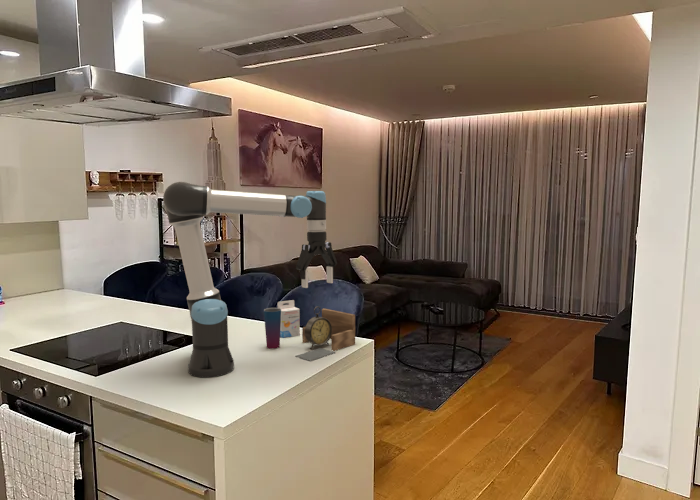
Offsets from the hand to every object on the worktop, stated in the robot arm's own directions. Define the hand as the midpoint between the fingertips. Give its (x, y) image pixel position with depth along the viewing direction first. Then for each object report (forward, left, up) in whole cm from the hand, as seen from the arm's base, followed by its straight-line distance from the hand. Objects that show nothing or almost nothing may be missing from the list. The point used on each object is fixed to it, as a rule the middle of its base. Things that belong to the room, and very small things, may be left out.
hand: (317, 285), depth 192 cm
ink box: (+3, +21, -25) cm, 33 cm away
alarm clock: (0, 0, -25) cm, 25 cm away
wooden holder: (+6, 0, -25) cm, 25 cm away
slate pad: (-8, -7, -25) cm, 27 cm away
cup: (-12, +13, -25) cm, 31 cm away
